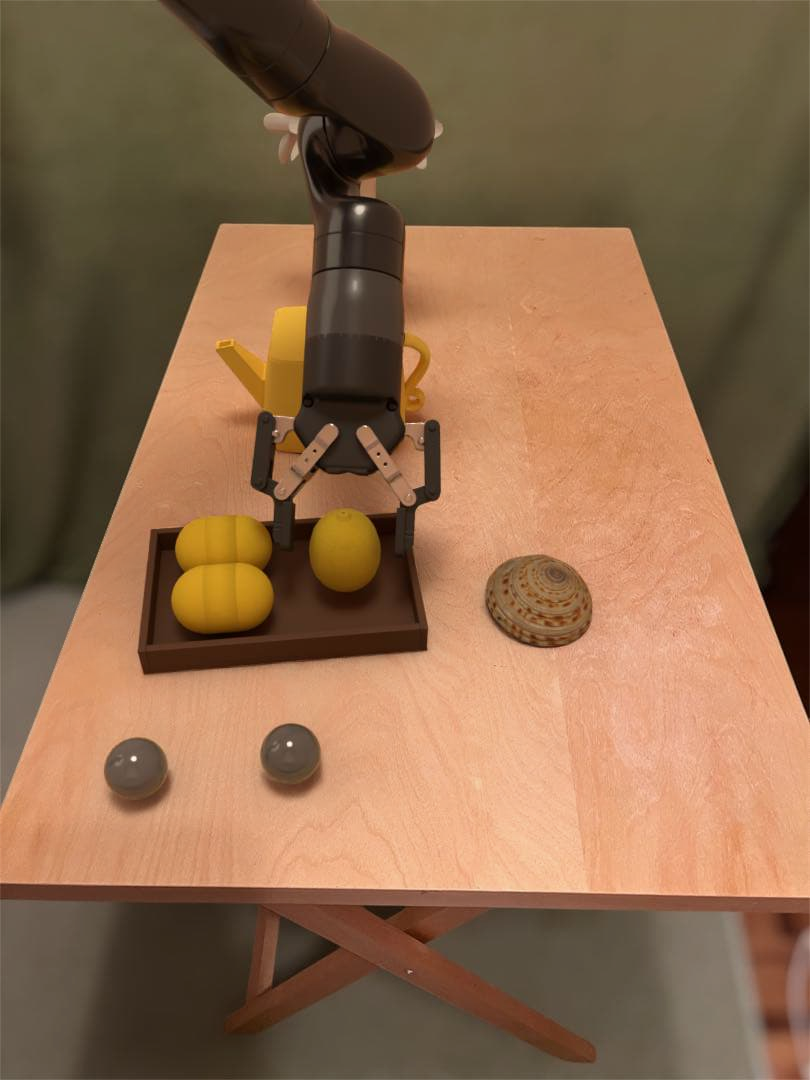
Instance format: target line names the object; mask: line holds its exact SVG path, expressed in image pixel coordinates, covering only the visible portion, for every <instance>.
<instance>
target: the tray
mask: <svg viewBox="0 0 810 1080" xmlns="http://www.w3.org/2000/svg"><path fill="white" fill-rule="evenodd" d="M363 514H364V513H363ZM396 514H397V511H396V512H395V511H394V512H382V513H381V512H380V513H379V512H378V513H368V514H367V513H366V514H364V515H365V516H366V517H368V518H369V520H370V521H371V522H372V523H373V525H374V527H375V529H376V532H377V534H378V537H379V541H380V548H381V551H380V563H379V566H378V569H377V571H376V574H375V575H374V577H373V578H372V579H371V581H370V582H369V583H368V584H367V585H365V586H364V587H362V588H361V589H358V590H356V591H352V592H338V591H335V590H332V589H330V588H328V587H327V586H325V585H323V584H322V583H321V581H320V580H319V579H318V578H317V577H316V575H315V573H314V571H313V568H312V566H311V562H310V554H309V545H310V539H311V536H312V533H313V530H314V527H315V525H316V524H317V523H318V521H319V520H320V519H321V518H322V517H323V516H322V517H320V516H319V517H308V518H295V529H294V547H293V552H285V551H281V549H280V544H281V543H275V542H274V539H273V536H272V534H273V520H263V521H261V520H260V522H261V523H262V524H263V525H264V526H265V527H266V529H267V531H268V532H269V534H270V537H271V541H272V553H271V557H270V560H269V562H268V564H267V565H266V566H265V568H264V569H263V570H262V572H263V573H264V574H265V575H266V576H267V577H268V579H269V580H270V582H271V585H272V587H273V593H274V601H273V606H272V609H271V611H270V613H269V615H268V616H267V618H266V619H265V620H264V621H263V622H262V623H261V624H260V625H258V626H257V627H255V628H253V629H250V630H246V631H240V632H228V633H215V634H201V633H196V632H193V631H191V630H189V629H187V628H186V627H184V626H183V625H182V624H181V623H180V622H179V621H178V619H177V618H176V616H175V614H174V612H173V609H172V603H171V597H172V592H173V588H174V586H175V584H176V582H177V581H178V579H179V578H180V577H181V576H182V575H183V574H184V573H185V572H184V570H183V569H182V568H181V566H180V565H179V563H178V561H177V558H176V552H175V546H176V541H177V538H178V536H179V534H180V532H181V531H182V529H183V528H184V527H185V526H175V527H161V528H160V527H159V528H151V529H150V533H149V542H148V550H147V551H148V552H147V559H146V560H147V561H146V562H147V563H146V571H145V580H144V587H143V597H142V598H143V599H142V607H141V616H140V626H139V634H138V642H137V643H138V644H137V655H138V658H139V663H140V666H141V669H142V673H143V675H150V674H161V673H173V672H186V671H197V670H210V669H211V670H212V669H220V668H221V669H222V668H233V667H245V666H255V665H256V666H257V665H268V664H279V663H281V664H282V663H289V662H290V663H293V662H304V661H305V662H306V661H314V660H315V661H316V660H325V659H326V660H329V659H339V658H341V659H342V658H351V657H352V658H353V657H363V656H375V655H386V654H387V655H388V654H397V653H398V654H399V653H409V652H410V653H411V652H422V651H427V650H428V640H429V626H428V619H427V614H426V609H425V605H424V598H423V594H422V589H421V584H420V579H419V574H418V568H417V563H416V558H415V553H414V548H413V547H414V546H413V547H412V549H411V550H404V558H396V557H394V554H395V534H396Z"/></svg>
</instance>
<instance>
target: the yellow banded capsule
mask: <svg viewBox="0 0 810 1080" xmlns="http://www.w3.org/2000/svg"><path fill="white" fill-rule="evenodd" d="M183 527H184V528H183V529H182V531H181V532H180V534H179V536H178V538H177V541H176V546H175V552H176V558H177V561H178V563H179V565H180V566H181V568H182V569H183V570H184V572H187V571H188V570H190V569H192V568H194V567H197V566H202V565H213V564H226V563H246V564H250V565H253V566H255V567H257V568H258V569H260V570H261V571H262V570H263V569H264V568H265V566H266V565H267V564H268V562H269V560H270V557H271V553H272V541H271V537H270V534H269V532H268V531H267V529H266V527H265V526H264V525H263V524H262V523H261V521H259V520H258V519H257V518H254V517H252V516H251V515H246V514H227V515H226V514H225V515H211V516H202V517H198V518H195V519H193V520H192V521H190V522H188V523H187V524H186V525H185V526H183Z"/></svg>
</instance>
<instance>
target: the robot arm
mask: <svg viewBox="0 0 810 1080" xmlns="http://www.w3.org/2000/svg"><path fill="white" fill-rule="evenodd" d="M156 1H157V3H159V4H160V5H161V6H162V7H163V8H164V9H165V10H166V11H167V12H168V13H169V14H170V15H171V16H172V17H173V18H174V19H175V20H176V21H177V22H179V24H180V25H182V27H184V29H186V30H187V31H188V32H189V33H190V35H192V36H193V37H194V38H195V39H196V40H197V41H198V42H199V43H200V44H201V45H202V46H203V47H204V48H206V50H208V52H210V53H211V55H213V56H214V57H215V58H216V59H217V60H218V61H219V62H220V63H221V64H222V65H224V67H226V69H228V70H229V71H230V72H231V73H232V74H233V75H234V76H236V77H237V78H238V79H239V80H240V81H241V82H242V83H243V84H245V85H246V86H247V87H248V88H249V89H250V90H251V91H252V92H253V93H255V94H256V95H257V97H259V98H260V99H261V100H262V101H263V102H264V103H266V104H267V105H268V106H269V107H270V108H272V109H273V110H275V111H276V112H277V113H282V114H284V115H287V116H292V117H300V119H299V123H298V129H297V145H298V151H299V155H298V157H299V160H300V166H301V168H302V173H303V178H304V182H305V188H306V193H307V198H308V204H309V208H310V213H311V218H312V219H311V220H312V225H313V230H314V231H313V232H314V233H313V246H312V263H311V280H310V283H311V284H310V288H309V294H308V299H307V304H306V306H307V312H306V328H305V347H304V365H303V383H302V401H301V407H300V410H299V412H298V414H297V416H296V417H295V418H293V417H284V416H275V415H272V414H271V413H270V412H268V411H264V410H263V411H261V412H260V413H259V414H258V415H257V421H256V428H255V429H256V430H255V438H254V445H253V446H254V447H253V456H252V463H251V472H250V480H249V484H250V487H251V488H252V489H253V490H255V491H257V492H259V493H261V494H264V495H267V496H268V497H270V498H271V499H272V501H273V516H272V517H273V519H272V521H273V534H272V536H273V539H274V542H275V543H281V544H280V549H281V551H285V552H293V547H294V529H295V519H296V508H297V503H295V502H294V498H295V497H296V496H297V495H298V494H299V492H301V490H302V489H303V488H304V486H305V485H307V484H308V483H309V482H310V481H311V480H312V479H313V477H314V476H315V475H316V474H317V473H318V472H319V471H320V470H321V472H323V473H325V474H327V475H332V476H341V475H344V474H352V475H354V476H357V477H369V476H371V475H373V474H376V473H377V472H379V474H380V475H381V476H382V478H383V480H384V481H385V482H386V484H387V485H388V486H389V488H390V490H391V491H392V492H393V494H394V495H395V496H396V498H397V499H398V501H399V504H398V505H399V506H398V507H396V512H397V514H396V534H395V554H394V557H396V558H404V550H411V549H412V547H414V544H415V526H416V525H415V523H416V511H417V509H418V508H419V507H420V506H422V505H424V504H428V503H431V502H436V501H438V500H439V499H440V497H441V494H442V469H441V467H442V466H441V465H442V464H441V463H442V462H441V460H442V459H441V424H440V422H439V421H438V420H436V419H433V418H432V419H428V420H426V421H425V422H405V423H404V421H403V419H402V417H401V414H400V404H401V384H402V365H403V366H404V363H403V361H404V346H403V345H404V342H405V333H406V332H405V323H406V317H405V316H406V313H405V311H406V310H405V300H404V299H405V298H404V284H403V278H405V277H404V276H405V258H406V257H405V256H406V255H405V254H406V238H407V237H406V232H407V231H406V223H405V218H404V216H403V214H402V212H401V210H400V209H398V208H397V207H396V205H394V204H392V203H390V202H389V201H386V200H383V199H379V198H377V197H376V198H371V197H364V196H361V195H360V187H361V182H362V181H363V180H368V179H372V178H376V179H377V178H380V177H384V176H389V175H393V174H397V173H401V172H406V171H408V170H410V169H412V168H415V167H416V165H418V164H419V163H421V162H422V161H423V160H424V159H425V157H427V156H428V154H429V153H430V151H431V149H432V147H433V144H434V141H435V138H434V136H435V120H436V118H435V112H434V109H433V105H432V103H431V100H430V98H429V96H428V94H427V92H426V91H425V88H424V87H423V86H422V84H421V83H420V81H419V80H418V79H417V77H416V76H415V75H414V74H413V73H412V72H410V71H409V69H408V68H407V67H405V66H404V65H403V64H401V63H400V62H399V61H397V60H396V59H394V58H393V57H391V56H390V55H388V54H387V53H386V52H384V51H383V50H380V49H379V48H377V47H376V46H374V45H372V44H371V43H369V42H368V41H366V40H365V39H363V38H362V37H360V36H358V35H356V34H355V33H353V32H351V31H349V30H347V29H345V28H344V27H341V26H339V25H338V24H336V23H335V22H334V21H333V20H332V19H331V18H330V16H329V15H328V14H327V13H326V12H325V10H324V9H323V8H322V7H321V6H320V5H319V3H317V1H316V0H156ZM292 431H294V432H295V434H296V435H297V437H298V438H299V440H300V441H301V443H302V444H303V446H304V447H305V449H306V450H305V451H304V452H303V453H300V455H299V457H298V458H297V459H296V460H295V461H294V462H293V464H292V465H291V467H290V469H289V470H288V471H287V472H286V474H285V475H284V476H283V477H282V478H281V480H280V481H277V480H275V479H273V477H274V469H275V460H276V451H277V450H276V444H282V443H283V442H284V441H285V439H286V436H287V434H288V433H290V432H292ZM405 437H407V438H409V439H411V440H412V442H413V443H412V444H413V447H414V448H415V450H416V451H418V452H423V454H424V455H423V465H424V466H423V471H424V477H423V478H424V485H422V486H418V487H415V488H412V487H411V485H410V484H409V483H408V481H407V479H406V478H405V477H404V475H403V474H402V472H401V470H400V469H399V468H398V466H397V465H396V463H395V461H394V460H393V459H392V457H391V456H392V454H393V453H394V452H395V451H396V450H397V449H398V448H399V447H400V445H401V443H403V442H404V439H405ZM399 444H400V445H399ZM398 446H399V447H398ZM397 447H398V448H397ZM396 448H397V449H396ZM395 449H396V450H395Z"/></svg>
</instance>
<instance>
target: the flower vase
mask: <svg viewBox="0 0 810 1080" xmlns="http://www.w3.org/2000/svg"><path fill="white" fill-rule="evenodd" d="M299 119H300V117H292V116H287V115H284V114H282V113H280V112H270V113H267V114H266V115H265V116H264V117H263V126H264V127H265V129H266V130H267V131H268V132H270V133H272V134H274V135H284V136H282V138H281V139H280V141H279V145H278V152H277V153H278V160H279V161H278V162H279V163H280V164H282V165H284V164H285V163H286V162H287V161H288V158H289V157H290V160H291V162H292V161H295V160H296V159H297V158H298V157H299V151H298V145H297V129H298V123H299ZM443 131H444V126H443V124H442V123H441V122H440V121H439V120H437V119H435V136H434V139H437V138H438V137H440V136H441V135H442V134H443ZM427 166H428V158H427V156H426V157H425V159H424V160H423V161H422V162H421V163H419V164H418V165H416V166H415V167H416V168H417V169H419V170H424V169H427ZM360 195H361V196H364V197H371V198H377V177H376V178H372V179H368V180H363V181H362V182H361V187H360ZM404 278H405V277H404ZM404 278H403V285H404V284H405V279H404Z"/></svg>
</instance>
